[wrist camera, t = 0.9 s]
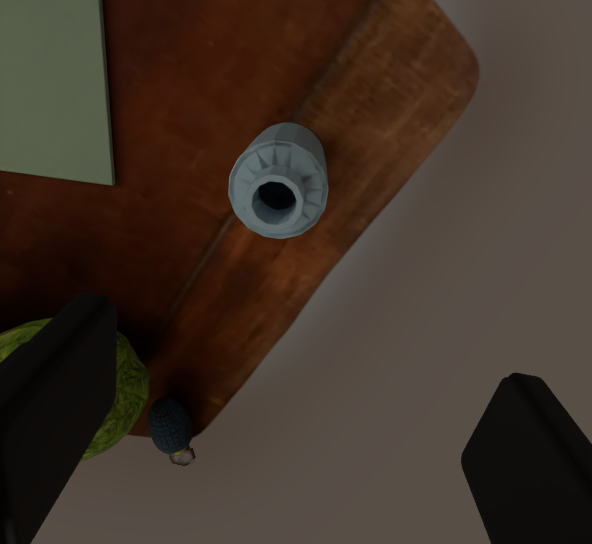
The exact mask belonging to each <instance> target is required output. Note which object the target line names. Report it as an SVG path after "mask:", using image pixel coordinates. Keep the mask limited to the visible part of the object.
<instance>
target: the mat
mask: <svg viewBox="0 0 592 544" xmlns="http://www.w3.org/2000/svg"><path fill="white" fill-rule="evenodd" d="M0 170H3V171H10V172H18V173H25V174H32V175H39V176H47V177H54V178H61V179H68V180H76V181H83V182H90V183H97V184H105V185H114V184H115V172H114V158H113V144H112V130H111V116H110V102H109V88H108V75H107V61H106V47H105V33H104V19H103V5H102V0H0Z"/></svg>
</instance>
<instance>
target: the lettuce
mask: <svg viewBox="0 0 592 544" xmlns="http://www.w3.org/2000/svg"><path fill="white" fill-rule="evenodd" d="M51 319H52V318H48V319H43V320H38V321H32V322H27V323H25V324H22V325H20V326H17V327H15V328H13V329H10V330H7V331H5V332H2V333H0V363H1V362H2V361H3V360H4V359H5V358H6V357H7V356H8V355H9V354H10V353H11V352H12V351H14V350H15V349H16V348H17V347H18V346H20V345H21V344H22V343H25V342H28V341H29V340H30V339H31V338H32V337H33V336H34V335H35V334H36V333H37V332H38V331H40V330H41V329H42V328H43V327H44V326H45V325H46V324H47V323H48V322H49V321H50V320H51ZM149 390H150V373H149V372H148V370H147V369H146V368H145V366H144V365H143V363H142V362H141V361H140V359H139V358H138V356H137V354H136V353H135V351H134V349H133V347H132V346H131V344H130V342H129V341H128V339H127V338H126V337H125V336H123V335H122V334H121V333H120V332H118V331H117V381H116V397H115V401H114V404H113V406H112V408H111V410H110V412H109V413H108V415H107V417H106V418H105V420H104V422H103V423H102V425H101V427H100V428H99V430H98V432H97V433H96V435H95V437H94V438H93V440H92V442H91V443H90V445H89V447H88V448H87V450H86V452H85V453H84V455H83V457H82V458H81V460H80V462H81V461H84V460H87V459H89V458H91V457H93V456H96V455H98V454H100V453H102V452H104V451H106V450H109V449H110V448H111V447H112V446H114V444H116V443H117V442H118V441H119V440H121V439H122V438H123V437H124V436H125V435H127V434H128V432H129V431H130V429H131V428H132V427H133V425H134V424H135V422H136V421H137V419H138V418H139V416H140V415H141V413H142V410H143V408H144V406H145V404H146V402H147V400H148V397H149Z"/></svg>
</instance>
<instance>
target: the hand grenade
mask: <svg viewBox="0 0 592 544" xmlns="http://www.w3.org/2000/svg"><path fill="white" fill-rule="evenodd" d="M148 417H149V418H148V426H149V431H150V434H151V437H152V440H153V442H154V443H155V445H156V447H157V448H158V449H160V450H161V451H162V452H164V453H166V454H169V457H170V460H171V462H172V463H173V464H178V465H183V466H185V465H188V464H191V463H193V462H195V461H194V458H195V454H194V450H193V448H191V449H190V446H189V443H190V441H191V439H192V433H193V427H192V423H191V420H190V417H189V415H188V413H187V411H186V410H185V408H184V407H183V406H182V405H181V404H180V403H179V402H178V401H177V400H175V399H173V398H170V397H161V399H160V398H159V399H158V400H156V401H155V402H154V403H153V405H152V406H151V408H150V412H149V416H148Z"/></svg>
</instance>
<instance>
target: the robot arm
mask: <svg viewBox="0 0 592 544" xmlns="http://www.w3.org/2000/svg"><path fill="white" fill-rule="evenodd" d="M116 381H117V306H116V305H115V304H111V303H110V299H109V297H107V296H103V295H97V294H92V293H87V292H81V293H79V294H78V295H77V296H76V297H75V298H74V299H73V300H71V301H70V302H69V303H68V304H67V305H66V306H65V307H64V308H63V309H62V310H61V311H60V312H59V313H58V314H57V315H56V316H54V317H53V318H52V319H51V320H50V321H49V322H48V323H47V324H46V325H45V326H44V327H43V328H42V329H41V330H40V331H38V332H37V333H36V334H35V335H34V336H33V337H32V338H31V339H30V340H29V341H28V342H25V343H22V344H21V345H20V346H18V347H17V348H16V349H15V350H14V351H12V352H11V353H10V354H9V355H8V356H7V357H6V358H5V359H4V360H3V361H2V362H1V363H0V544H30V543H31V542H32V540H33V538H34V537H35V535H36V533H37V532H38V530H39V529H40V527H41V525H42V523H43V522H44V520H45V518H46V517H47V515H48V513H49V512H50V510H51V508H52V507H53V505H54V503H55V502H56V500H57V498H58V497H59V495H60V493H61V492H62V490H63V488H64V487H65V485H66V483H67V482H68V480H69V478H70V477H71V475H72V473H73V472H74V470H75V468H76V467H77V465H78V463H79V462H80V460H81V458H82V457H83V455H84V453H85V452H86V450H87V448H88V447H89V445H90V443H91V442H92V440H93V438H94V437H95V435H96V433H97V432H98V430H99V428H100V427H101V425H102V423H103V422H104V420H105V418H106V417H107V415H108V413H109V412H110V410H111V408H112V406H113V404H114V401H115V397H116ZM461 464H462V469H463V471H464V474H465V477H466V479H467V482H468V484H469V487H470V490H471V492H472V495H473V497H474V500H475V503H476V505H477V508H478V510H479V513H480V515H481V518H482V521H483V523H484V526H485V529H486V531H487V534H488V536H489V539H490V541H491V544H592V444H591V443H590V441H589V440H588V439H587V437H586V436H585V435H584V433H583V432H582V431H581V430H580V428H579V427H578V426H577V424H576V423H575V422H574V420H573V419H572V418H571V416H570V415H569V414H568V412H567V411H566V410H565V408H564V407H563V406H562V405H561V403H560V402H559V401H558V399H557V398H556V397H555V395H554V394H553V393H552V391H551V390H550V389H549V387H548V386H547V385H546V383H545V382H544V381H543V380H542V379H541V378H539V377H536V376H531V375H525V374H520V373H512V374H511V375H510V376H509V377H505V378H504V379H502V381H501V382H500V384H499V386H498V388H497V390H496V392H495V393H494V395H493V397H492V399H491V401H490V403H489V404H488V407H487V408H486V410H485V412H484V414H483V416H482V418H481V420H480V421H479V423H478V425H477V427H476V429H475V430H474V432H473V434H472V436H471V438H470V440H469V442H468V443H467V445H466V447H465V449H464V451H463V453H462V457H461Z"/></svg>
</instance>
